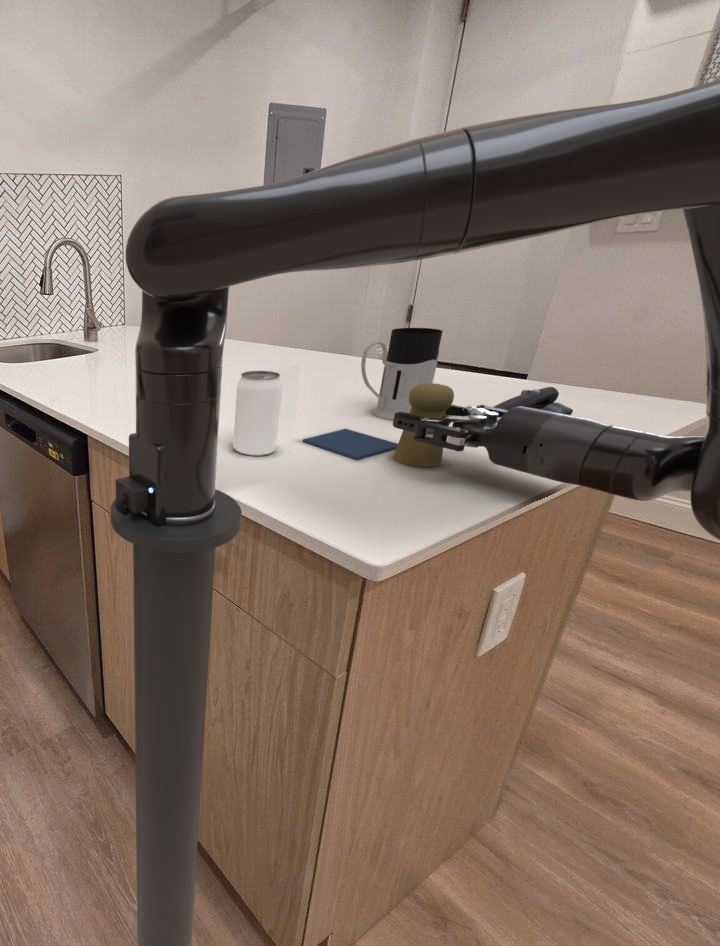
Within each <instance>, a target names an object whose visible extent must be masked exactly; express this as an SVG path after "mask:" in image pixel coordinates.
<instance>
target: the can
mask: <svg viewBox="0 0 720 946" xmlns="http://www.w3.org/2000/svg"><path fill="white" fill-rule="evenodd" d="M282 390H283V384H282V382H281V374H280V372H276V371H271V370H248V371H243V372H242V373H241V374H240V379H239V381H238V382H237V385H236V396H235V408H234V409H235V410H234V411H235V412H234V426H233V441H232V448H233V449H234V450H235V452H237V453H238V454H241V455H245V456H250V457H263V456H269V455H271V454H273V453H274V451H276V448H277V442H278V441H277V439H278V431H279V430H278V429H279V422H280V413H281V412H280V411H281V403H282Z"/></svg>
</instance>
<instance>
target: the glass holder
mask: <svg viewBox="0 0 720 946" xmlns="http://www.w3.org/2000/svg"><path fill="white" fill-rule="evenodd" d="M442 336H443V330H442V329H439V328H438V329H437V328H430V327H401V328H400V327H399V328H394V329H391V333H390V340H389V344H388V349H387V346H386V344H385V343H384V342H382V341H377V340H376V341H373V342H371V343H369V344H368V345H367V346H365V348H364V350H363V353H362V356H361V362H360V363H361V364H360V367H361V368H360V369H361V376H362V379H363V382H364V384H365V386H366V388H368V389H369V390H370V392H371V393H372V394H373V395H374V396H375V397H376V398H377V405H376V407H375V408H374V410H373V411H372V412H373V415H374V416H376V417H378V418H380V419H384V420H388V421H393V420H394V415H395V413H397V412H405V413H410V410H411V405H410V403H409V394H410V392H411V390H412V389H413V388H414V387H415V386H417V385H419V384H426V383H434V379H435V374H436V369H437V365H438V360H439V355H440V346H441V342H442ZM377 344H378V345H380V346H381V349H382V357H381V358H382V359H381V361H382V364H383V365H384V366H383V371H382V377H381V383H380V389H379V393H378V392H377V391H376V390H375V389H374V388H373V387H372V385H371V384H370V383H369V379H368V376H367V371H366V362H367V355H368V352H369V350H370V349H371V348H372V347H373V346H375V345H377Z"/></svg>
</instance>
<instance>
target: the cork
mask: <svg viewBox="0 0 720 946" xmlns="http://www.w3.org/2000/svg"><path fill="white" fill-rule="evenodd" d="M454 399H455V392H454V390H453V388H451V386H449V385H445V384H440V383H434V382H433V383H426V384H419V385H417V386H415V387H414V388H413V389H412V390H411V392H410V394H409V403H410V405H411V410H410V413H409V414H414V415H418V416H422V417H429V418H442V417H443V416H445V415H446V410H447V409H448V408H449V407H450V406H451V405H453V402H454ZM429 432H434V431H433V430H432V429H429ZM414 434H415V433H413V432H410V431H406V430H402V432H401V435H400V438H399V441H398V442H397V444H398V446H397V448H396V449H395V451H394V454H393V459H394V460H395V461H396V462H398V463H401V464H402V465H407V466H410V467H417V468H435V467H439V466H442V464H443V457H444V456H443V454H444V448H443V447H439V446H435V445H431V444H427V443H423V442H419V441H415V440H413V438H414Z"/></svg>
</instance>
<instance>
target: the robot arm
mask: <svg viewBox="0 0 720 946" xmlns="http://www.w3.org/2000/svg"><path fill="white" fill-rule="evenodd" d="M676 210H677V211H678V210H681V211H682V213H683V216H684V221H685V223H686V227H687V231H688V236H689V240H690V245H691V246H690V247H691V252H692V256H693V261H694V265H695V270H696V275H697V280H698V286H699V292H700V301H701V307H702V315H703V324H704V337H705V363H706V365H705V413H706V431H705V434H704V436H703V435H702V436H700V435H698V436H697V435H696V436H693V435H691V436H672V435H663V434H658V433H654V432H648V431H643V430H637V429H632V428H628V427H622V426H616V425H612V424H609V423H604V422H601V421H598V420H595V419H591V418H586V417H582V416H578V415H577V416H576V415H573V414H571V415H566V414H561V413H556V412H550V411H545V410H540V409H534V408H529V407H523V406H518V407H514V408H512V409H510V410H509V411H508V410H504V409H499V408H494V406H489V405H485V404H478V405H476V407H475V406H472V405H465V406H461V405H455V404H451V406H450V407H449V408H448V409H447V410H446V415H445V416H443V417H442V418H429V417H422V416H418V415H414V414H409V413H405V412H397V413H395V415H394V420H392V427H393V428H395V429H398V430H401V431H403V430H406V431H410V432H413V433H415V434H414V438H413V440H415V441H419V442H423V443H427V444H431V445H435V446H439V447H443V449H447V450H451V451H454V452H464V450H465V447H466V448H479V447H483V448H485V449H486V452H487V455H488V459H489V460H490V462H491V463H492V464H494V465H496V466H500V467H504V468H507V469H511V470H514V471H517V472H521V473H525V474H529V475H532V476H537V477H539V478H543V479H548V480H550V481H554V482H558V483H563V484H569V485H575V486H581V487H584V488H588V489H592V490H595V491H599V492H601V493H606V494H610V495H614V496H617V497H621V498H626V499H630V500H635V501H640V502H641V501H642V502H648V501H654V500H657V499H660V498H662V497H664V496H666V495H669V494H672V493H677V492H690V497H689V498H690V507H691V511H692V513H693V517H694V518H695V520H696V521H697V523H698V525H700V527H701V528H702V529H703V530H704V531H705V532H706V533H708V534H709V535H710V536H712V537H713V538H714V539H716V540H718V541H720V76H718V77H716V78H715V79H713V81H709V82H706V83H703V84H700V85H696V86H693V87H689V88H687V89H682V90H679V91H675V92H670V93H666V94H663V95H658V96H653V97H648V98H644V99H638V100H631V101H625V102H619V103H612V104H611V103H610V104H604V105H596V106H586V107H579V108H578V107H577V108H570V109H563V110H561V109H560V110H555V111H546V112H540V113H534V114H527V115H521V116H515V117H510V118H509V117H508V118H504V119H497V120H492V121H488V122H483V123H482V122H481V123H476V124H472V125H467V126H464V127H459V128H456V129H451V130H446V131H443V132H439V133H435V134H430V135H427V136H422V137H418V138H415V139H410V140H408V141H404V142H400V143H397V144H394V145H391V146H388V147H384V148H380V149H377V150H373V151H370V152H366V153H363V154H360V155H357V156H354V157H350V158H347V159H343V160H340V161H338V162H335V163H333V164H329V165H326V166H324V167H321V168H319V169H318V168H317V169H315V170H313V171H310V172H307V173H305V174H302V175H299V176H296V177H292V178H289V179H286V180H282V181H278V182H273V183H269V184H263V185H259V186H251V187H244V188H239V189H238V188H237V189H231V190H225V191H217V192H208V193H199V194H189V195H177V196H171V197H168V198H164V199H162V200H160V201H158V202H156V203H155V204H153V205H151V206H150V207H149V208H148V209H146V210H145V212H143V214H141V216H139V218H138V219H137V220H136V222H135V223H134V226H133V227H132V229H131V230H130V233H129V235H128V238H127V241H126V244H125V252H124V253H125V265H126V268H127V272H128V273H129V276H130V277H131V280H133V282H134V283H135V284H136V286H137V287H138V288H139V289H140V290H141V318H140V326H139V331H138V335H137V338H136V342H135V349H134V350H135V351H134V353H135V354H134V355H135V356H134V357H135V359H134V361H135V363H134V364H135V432H133V433H130V434H129V436H128V476H124V477H121V478H117V479H115V499H116V502H115V507H116V510H117V511H118V512H120V513H122V514H123V515H128V514H129V512H130V510H131V511H133V512H134V513H138V514H139V515H140V516H141V517H143V518H144V519H146V520H147V521H149V522H150V523H151V524H153V525H154V526H156V527H162V526H166V525H170V526H186V525H193V524H197V523H201V522H203V521H206V520H207V519H209V518H210V517H211V516H212V515H213V514H214V512H215V500H214V497H215V489H216V479H217V463H218V462H217V461H218V446H219V445H218V444H219V429H220V428H219V427H220V409H221V394H222V393H221V392H222V379H223V378H222V377H223V376H222V375H223V360H224V359H223V356H224V348H225V340H226V334H227V322H228V308H229V307H228V306H229V292H230V287H233V286H237V285H240V284H244V283H247V282H252V281H257V280H259V279H264V278H268V277H273V276H277V275H283V274H289V273H300V272H312V271H313V272H315V271H333V270H334V271H335V270H347V269H358V268H368V267H376V266H385V265H394V264H395V265H396V264H401V263H409V262H415V261H420V260H425V259H432V258H438V257H443V256H450V255H456V254H462V253H466V252H471V251H475V250H479V249H484V248H489V247H493V246H498V245H499V246H500V245H504V244H509V243H513V242H517V241H523V240H527V239H531V238H536V237H542V236H545V235H550V234H555V233H558V232H562V231H567V230H570V229H571V230H572V229H575V228H580V227H584V226H587V225H592V224H596V223H600V222H605V221H609V220H614V219H618V218H626V217H631V216H637V215H644V214H651V213H659V212H668V211H676ZM451 424H452V426H450V425H451ZM429 429H432V430H433V431H434V432H429ZM123 505H125V506H126V507H125V506H123ZM128 508H129V509H130V510H129V509H128Z"/></svg>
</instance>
